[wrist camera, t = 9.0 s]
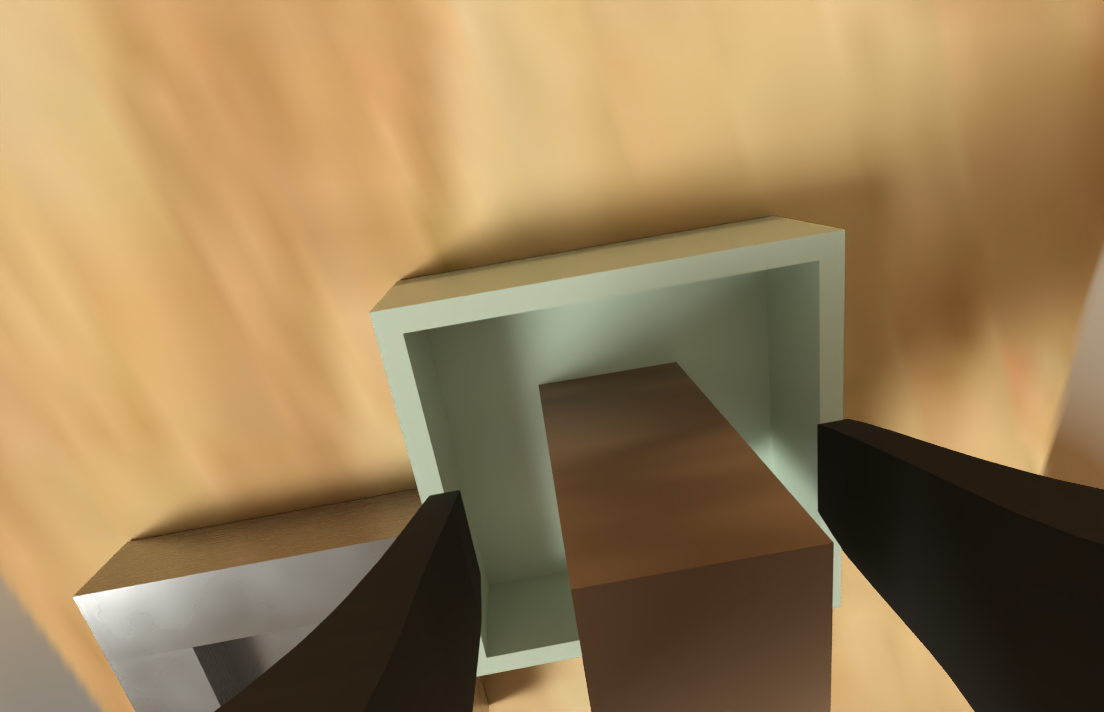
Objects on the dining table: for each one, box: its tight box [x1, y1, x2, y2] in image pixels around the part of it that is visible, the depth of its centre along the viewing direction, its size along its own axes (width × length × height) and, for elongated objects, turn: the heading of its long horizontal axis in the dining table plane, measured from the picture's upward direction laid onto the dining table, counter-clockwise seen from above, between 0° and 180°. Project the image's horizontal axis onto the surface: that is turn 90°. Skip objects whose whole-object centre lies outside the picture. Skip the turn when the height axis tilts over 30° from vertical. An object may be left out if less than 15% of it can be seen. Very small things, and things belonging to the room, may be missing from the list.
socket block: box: [73, 489, 489, 712], centre depth 15 cm, size 8×8×2 cm
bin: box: [369, 216, 845, 677], centre depth 13 cm, size 9×9×3 cm
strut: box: [538, 362, 834, 712], centre depth 11 cm, size 3×3×7 cm
